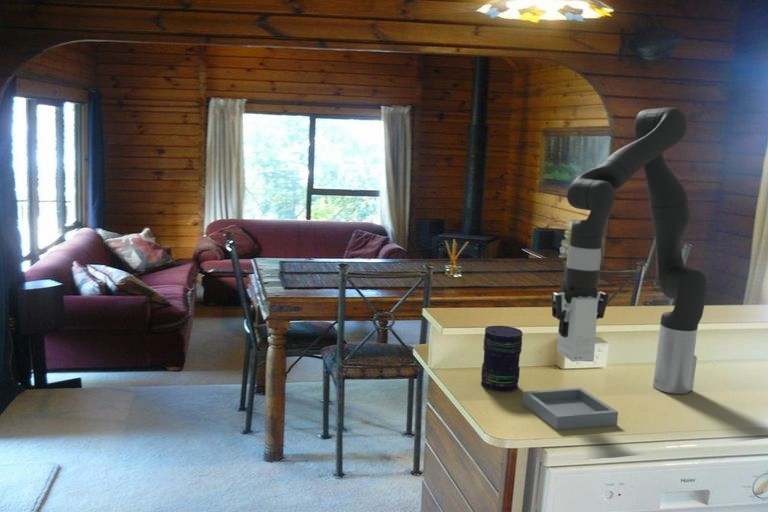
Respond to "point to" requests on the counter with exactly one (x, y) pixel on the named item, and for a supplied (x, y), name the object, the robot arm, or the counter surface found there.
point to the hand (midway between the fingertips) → (575, 335)
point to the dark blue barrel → (501, 358)
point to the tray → (569, 408)
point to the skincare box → (580, 330)
